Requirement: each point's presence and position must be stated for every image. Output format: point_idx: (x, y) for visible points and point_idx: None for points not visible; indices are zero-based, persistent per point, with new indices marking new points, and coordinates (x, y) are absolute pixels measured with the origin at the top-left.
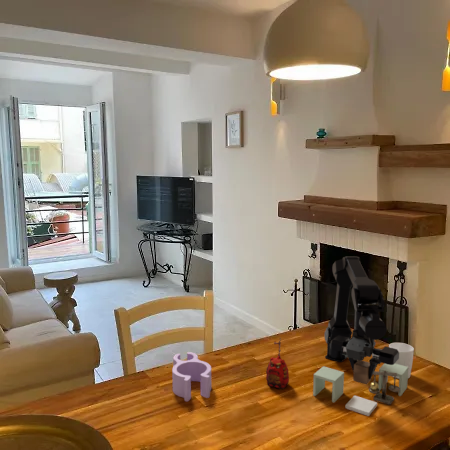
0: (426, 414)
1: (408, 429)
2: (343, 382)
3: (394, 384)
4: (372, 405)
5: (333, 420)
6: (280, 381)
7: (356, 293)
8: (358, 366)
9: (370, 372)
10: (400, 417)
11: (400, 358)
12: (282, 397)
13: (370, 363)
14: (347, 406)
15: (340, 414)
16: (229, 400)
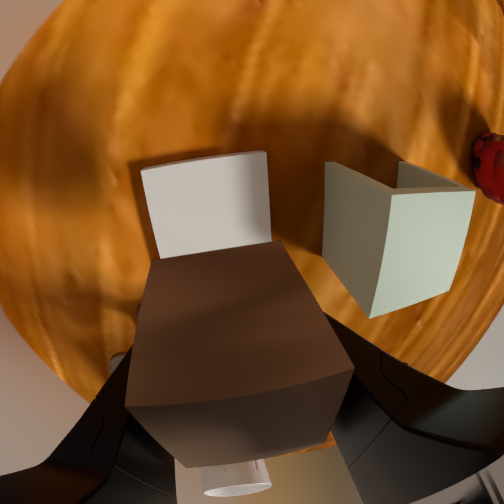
0: (47, 326)
1: (12, 208)
2: (344, 282)
3: None
4: (165, 242)
5: (255, 24)
6: (497, 141)
7: None
8: (274, 378)
9: (125, 374)
10: (65, 258)
11: (221, 468)
12: (459, 91)
13: (84, 485)
14: (254, 152)
15: (255, 85)
16: (501, 31)
